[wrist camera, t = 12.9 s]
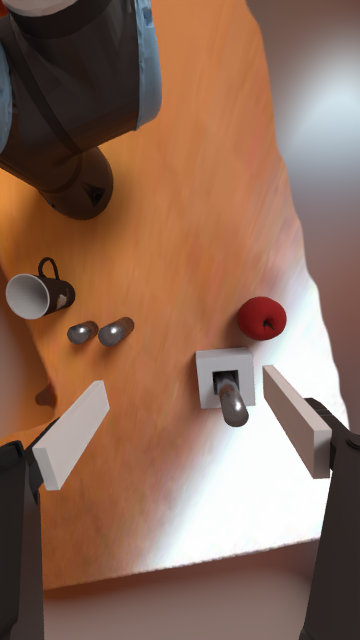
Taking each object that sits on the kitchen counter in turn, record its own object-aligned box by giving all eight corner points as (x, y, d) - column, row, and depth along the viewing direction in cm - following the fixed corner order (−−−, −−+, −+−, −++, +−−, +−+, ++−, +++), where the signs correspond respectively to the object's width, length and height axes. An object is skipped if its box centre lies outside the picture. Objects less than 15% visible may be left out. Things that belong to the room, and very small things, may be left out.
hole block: (195, 351, 47) (195, 359, 42) (246, 346, 46) (252, 354, 41) (200, 396, 49) (201, 408, 44) (249, 393, 48) (255, 405, 43)
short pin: (81, 321, 48) (65, 327, 42) (96, 320, 47) (83, 325, 41) (84, 337, 48) (69, 344, 42) (99, 335, 48) (86, 343, 42)
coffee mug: (64, 319, 48) (31, 328, 38) (38, 293, 47) (-3, 295, 37) (95, 286, 46) (68, 286, 36) (68, 258, 45) (33, 251, 35)
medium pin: (116, 317, 47) (96, 327, 37) (132, 316, 46) (116, 325, 37) (119, 334, 48) (100, 347, 38) (135, 332, 47) (120, 345, 37)
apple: (278, 297, 43) (303, 301, 34) (272, 336, 45) (293, 350, 35) (236, 293, 44) (249, 297, 34) (231, 332, 46) (242, 346, 36)
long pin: (214, 380, 48) (224, 427, 32) (213, 365, 47) (222, 406, 32) (230, 379, 48) (249, 426, 32) (229, 363, 47) (248, 404, 31)
